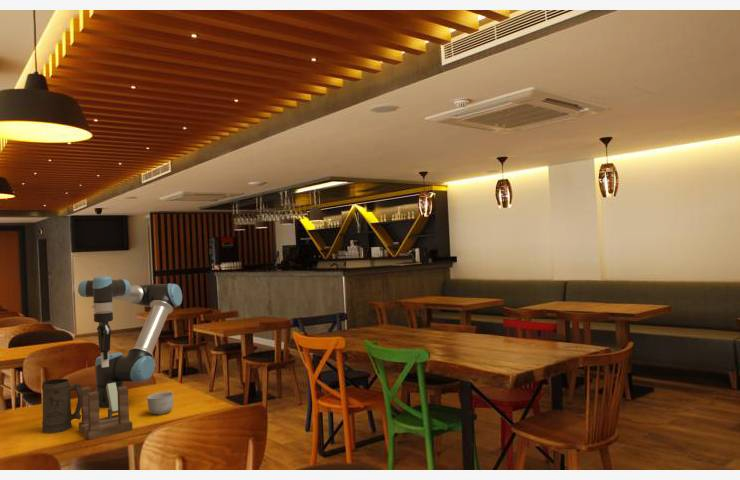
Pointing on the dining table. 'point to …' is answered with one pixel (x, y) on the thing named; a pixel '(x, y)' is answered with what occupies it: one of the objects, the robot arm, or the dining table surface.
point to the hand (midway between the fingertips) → (105, 366)
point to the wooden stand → (106, 425)
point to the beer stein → (59, 405)
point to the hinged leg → (112, 397)
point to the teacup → (160, 402)
